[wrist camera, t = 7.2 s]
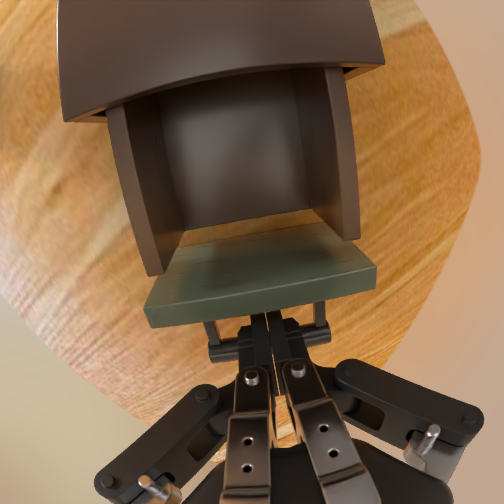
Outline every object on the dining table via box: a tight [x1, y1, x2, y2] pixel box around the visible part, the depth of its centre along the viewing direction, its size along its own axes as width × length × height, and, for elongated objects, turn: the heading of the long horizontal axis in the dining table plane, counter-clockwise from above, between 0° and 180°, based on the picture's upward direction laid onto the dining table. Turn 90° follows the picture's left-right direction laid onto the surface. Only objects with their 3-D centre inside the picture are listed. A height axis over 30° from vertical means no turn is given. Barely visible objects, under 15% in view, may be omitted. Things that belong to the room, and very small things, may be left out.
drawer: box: [105, 67, 377, 363], centre depth 14 cm, size 18×10×7 cm, turn 9°
